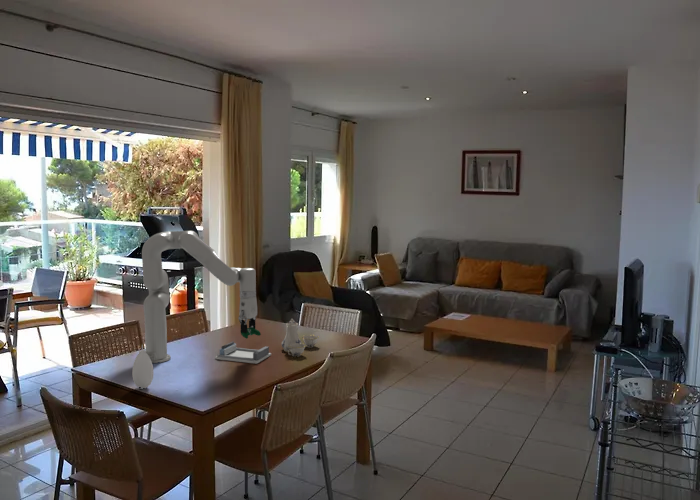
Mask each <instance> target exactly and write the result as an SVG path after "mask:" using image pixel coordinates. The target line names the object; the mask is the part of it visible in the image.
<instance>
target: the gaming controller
mask: <svg viewBox="0 0 700 500" xmlns="http://www.w3.org/2000/svg"><path fill="white" fill-rule="evenodd" d="M240 334H241V336H242V337H243V338H245V340H246V339H248V338H249V336H253V335H255V336H257V337H258V336H259V337H260V336H261V335H262V333H261V332H260V330H258V329H256V327H255V328H254V327H253V326H251V327H250V328H249V327H247V333H244V332H243V333H241V330H240Z"/></svg>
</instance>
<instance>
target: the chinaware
mask: <svg viewBox="0 0 700 500" xmlns="http://www.w3.org/2000/svg"><path fill="white" fill-rule="evenodd" d="M285 326H286V332H285V333H286V334H285V336H284V339H283V340H282V341H281V347H282V348H283V351H284V352H286V353H288V354H287V355H289V356H292V357H296V356H297V357H301V355H302V354H303V353H304V352H305V351H304V350H305V348H306V347H307V348H314V346H315V345H316V344H317V342H318V339H319V338H320V336H319V335H315V334H309V335H307V334H306V335H302V340H303V342H302V340H301V339H300V337H299V333H298V331H299V330H298V329H299V327H298V326H299V323H298V322H296V321H295V320H294V319H293V318H291V319H290V320H289V321H288V322H286V323H285Z"/></svg>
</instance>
